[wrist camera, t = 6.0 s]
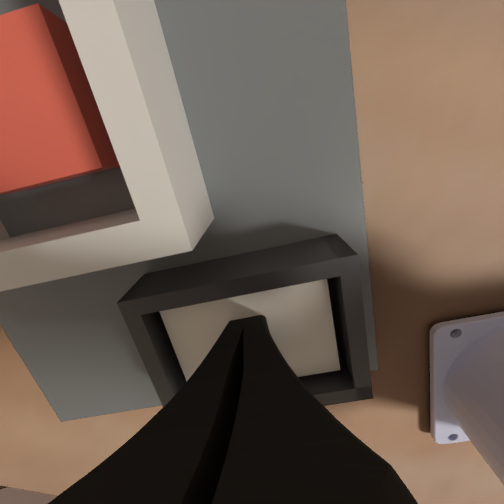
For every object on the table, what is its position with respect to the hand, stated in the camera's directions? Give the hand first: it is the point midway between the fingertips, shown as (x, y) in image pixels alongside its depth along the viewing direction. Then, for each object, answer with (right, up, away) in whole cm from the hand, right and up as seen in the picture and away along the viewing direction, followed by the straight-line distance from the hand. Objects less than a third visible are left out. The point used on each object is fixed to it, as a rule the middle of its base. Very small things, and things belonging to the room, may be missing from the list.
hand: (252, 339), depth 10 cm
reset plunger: (-7, +8, -1) cm, 10 cm away
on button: (0, 0, +1) cm, 1 cm away
